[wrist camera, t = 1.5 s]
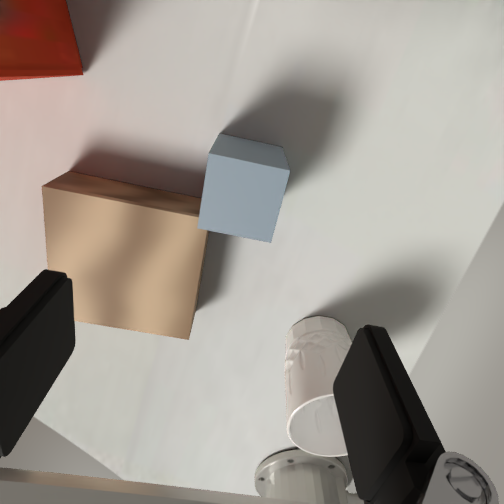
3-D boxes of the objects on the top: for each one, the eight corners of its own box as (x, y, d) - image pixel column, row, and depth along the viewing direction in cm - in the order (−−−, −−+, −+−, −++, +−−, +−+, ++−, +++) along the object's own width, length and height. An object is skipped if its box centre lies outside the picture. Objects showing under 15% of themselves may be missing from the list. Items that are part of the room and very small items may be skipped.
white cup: (350, 366, 38) (379, 456, 29) (279, 368, 38) (286, 457, 30) (358, 309, 35) (393, 392, 26) (279, 311, 35) (287, 394, 26)
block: (282, 147, 27) (290, 170, 21) (267, 206, 30) (270, 242, 23) (219, 133, 27) (208, 153, 21) (209, 193, 29) (197, 228, 23)
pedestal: (214, 200, 29) (209, 219, 26) (195, 312, 35) (188, 339, 31) (68, 171, 28) (41, 186, 25) (72, 290, 34) (51, 317, 30)
